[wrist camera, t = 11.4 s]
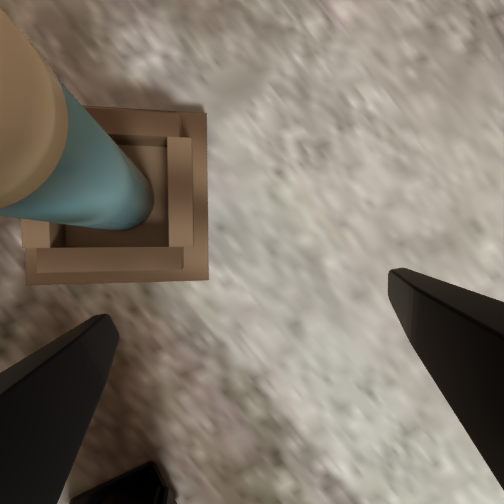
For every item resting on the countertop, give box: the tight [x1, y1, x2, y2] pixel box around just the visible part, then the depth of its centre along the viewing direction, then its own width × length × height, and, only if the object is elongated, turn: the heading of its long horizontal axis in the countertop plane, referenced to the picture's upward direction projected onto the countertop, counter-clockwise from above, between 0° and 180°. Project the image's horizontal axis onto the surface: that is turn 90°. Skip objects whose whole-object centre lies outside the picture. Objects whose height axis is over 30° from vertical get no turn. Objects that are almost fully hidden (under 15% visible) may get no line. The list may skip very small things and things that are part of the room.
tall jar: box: [0, 8, 154, 231], centre depth 12 cm, size 5×5×14 cm
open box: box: [21, 106, 209, 285], centre depth 19 cm, size 12×12×3 cm
